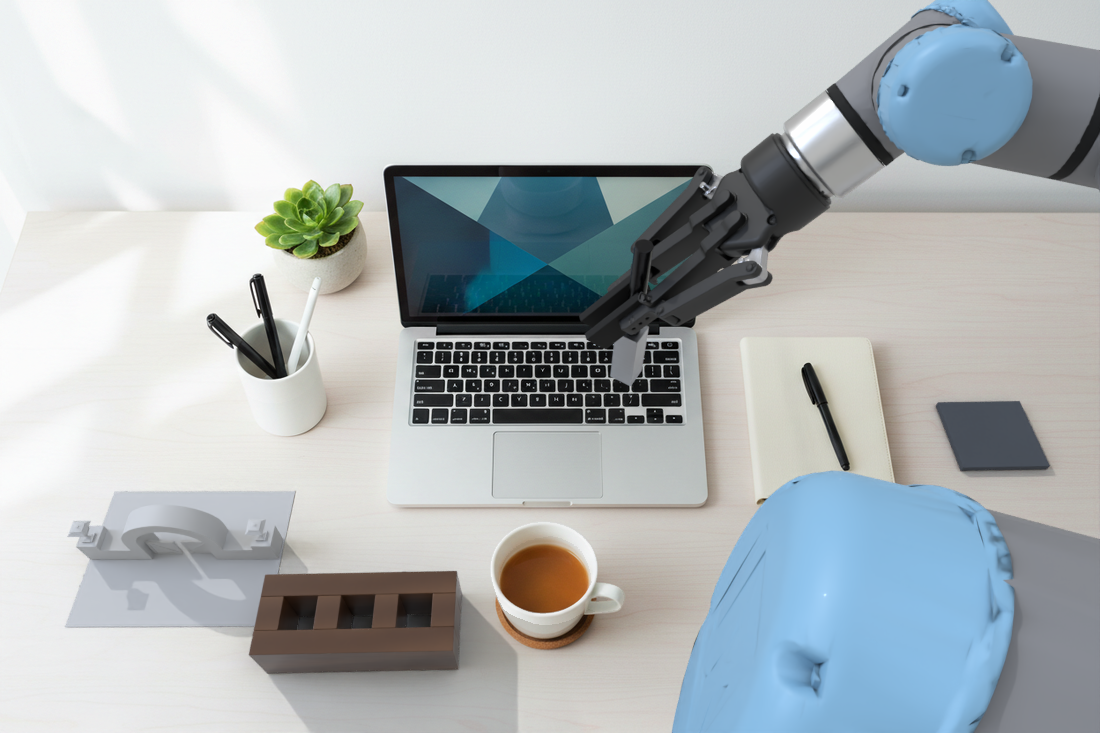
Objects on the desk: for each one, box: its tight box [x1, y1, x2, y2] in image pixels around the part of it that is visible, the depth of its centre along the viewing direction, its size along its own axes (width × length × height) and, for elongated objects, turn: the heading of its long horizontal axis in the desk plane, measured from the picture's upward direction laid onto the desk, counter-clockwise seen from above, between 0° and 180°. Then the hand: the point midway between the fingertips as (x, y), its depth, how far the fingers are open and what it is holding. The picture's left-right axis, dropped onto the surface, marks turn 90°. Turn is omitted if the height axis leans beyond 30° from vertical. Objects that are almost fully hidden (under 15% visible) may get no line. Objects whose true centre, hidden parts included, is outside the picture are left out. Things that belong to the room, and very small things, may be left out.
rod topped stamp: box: [609, 239, 654, 387], centre depth 72 cm, size 2×2×18 cm
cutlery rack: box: [248, 570, 463, 675], centre depth 75 cm, size 8×18×6 cm, turn 91°
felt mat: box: [935, 400, 1051, 472], centre depth 92 cm, size 9×10×1 cm
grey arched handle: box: [66, 503, 286, 561], centre depth 79 cm, size 20×2×8 cm, turn 90°
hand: (592, 332), depth 73 cm, fingers closed on rod topped stamp, 1 cm apart
